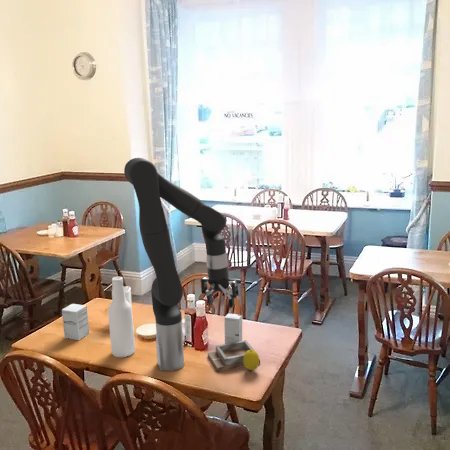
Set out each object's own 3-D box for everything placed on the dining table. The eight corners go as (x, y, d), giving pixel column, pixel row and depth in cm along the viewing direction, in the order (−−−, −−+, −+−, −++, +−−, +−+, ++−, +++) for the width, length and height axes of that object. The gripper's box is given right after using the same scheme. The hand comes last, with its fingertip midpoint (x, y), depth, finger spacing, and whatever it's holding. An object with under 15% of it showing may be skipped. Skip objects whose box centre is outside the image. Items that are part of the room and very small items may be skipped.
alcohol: (107, 356, 195) (100, 280, 188) (120, 345, 203) (113, 273, 196) (127, 359, 192) (120, 283, 184) (139, 349, 199) (133, 275, 192)
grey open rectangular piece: (217, 371, 181) (217, 361, 180) (207, 356, 192) (207, 346, 191) (260, 363, 186) (260, 353, 185) (248, 348, 197) (248, 339, 196)
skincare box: (224, 346, 199) (223, 317, 196) (228, 341, 203) (227, 312, 200) (239, 348, 197) (238, 319, 194) (243, 343, 201) (242, 314, 198)
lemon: (242, 367, 183) (242, 346, 182) (258, 366, 184) (257, 345, 182) (244, 375, 178) (244, 353, 176) (260, 374, 178) (260, 352, 177)
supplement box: (64, 338, 211) (60, 309, 208) (75, 331, 217) (72, 302, 214) (78, 341, 208) (75, 311, 205) (90, 333, 215) (87, 304, 212)
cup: (130, 324, 222) (128, 292, 218) (113, 325, 222) (110, 292, 218) (133, 318, 229) (131, 286, 225) (117, 318, 229) (114, 286, 225)
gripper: (195, 266, 187) (199, 307, 191) (230, 270, 180) (233, 312, 184) (205, 259, 193) (209, 299, 197) (239, 262, 186) (242, 304, 191)
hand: (221, 305), depth 191 cm, fingers open, 8 cm apart
